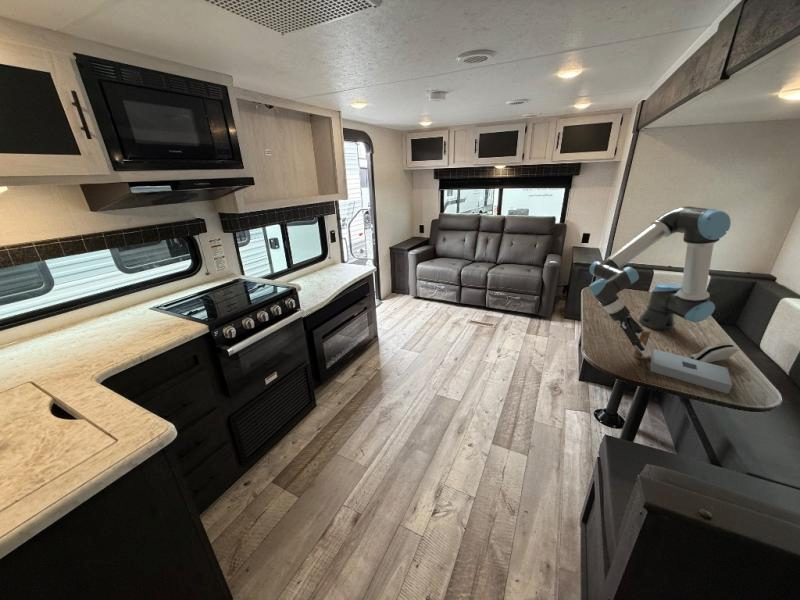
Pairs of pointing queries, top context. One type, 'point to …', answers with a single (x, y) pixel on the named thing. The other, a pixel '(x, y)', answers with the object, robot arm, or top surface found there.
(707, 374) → the hole block
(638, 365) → the top surface
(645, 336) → the peg
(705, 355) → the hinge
